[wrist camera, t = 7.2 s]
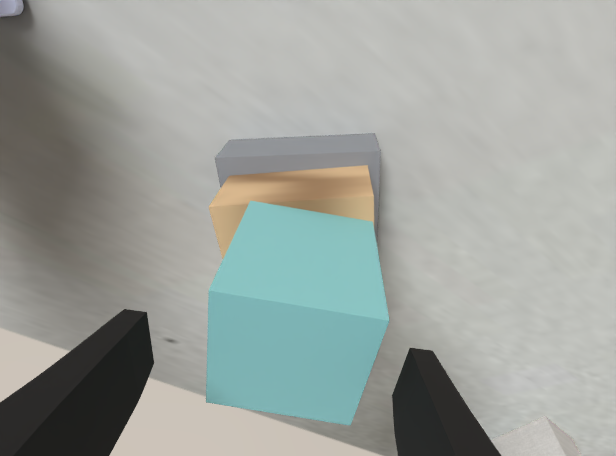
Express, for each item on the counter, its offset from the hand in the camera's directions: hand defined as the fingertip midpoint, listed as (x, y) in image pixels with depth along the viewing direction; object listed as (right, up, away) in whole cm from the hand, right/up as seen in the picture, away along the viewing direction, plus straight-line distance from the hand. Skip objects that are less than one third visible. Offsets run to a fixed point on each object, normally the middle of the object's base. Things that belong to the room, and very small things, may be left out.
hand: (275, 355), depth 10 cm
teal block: (+1, +2, +4) cm, 5 cm away
